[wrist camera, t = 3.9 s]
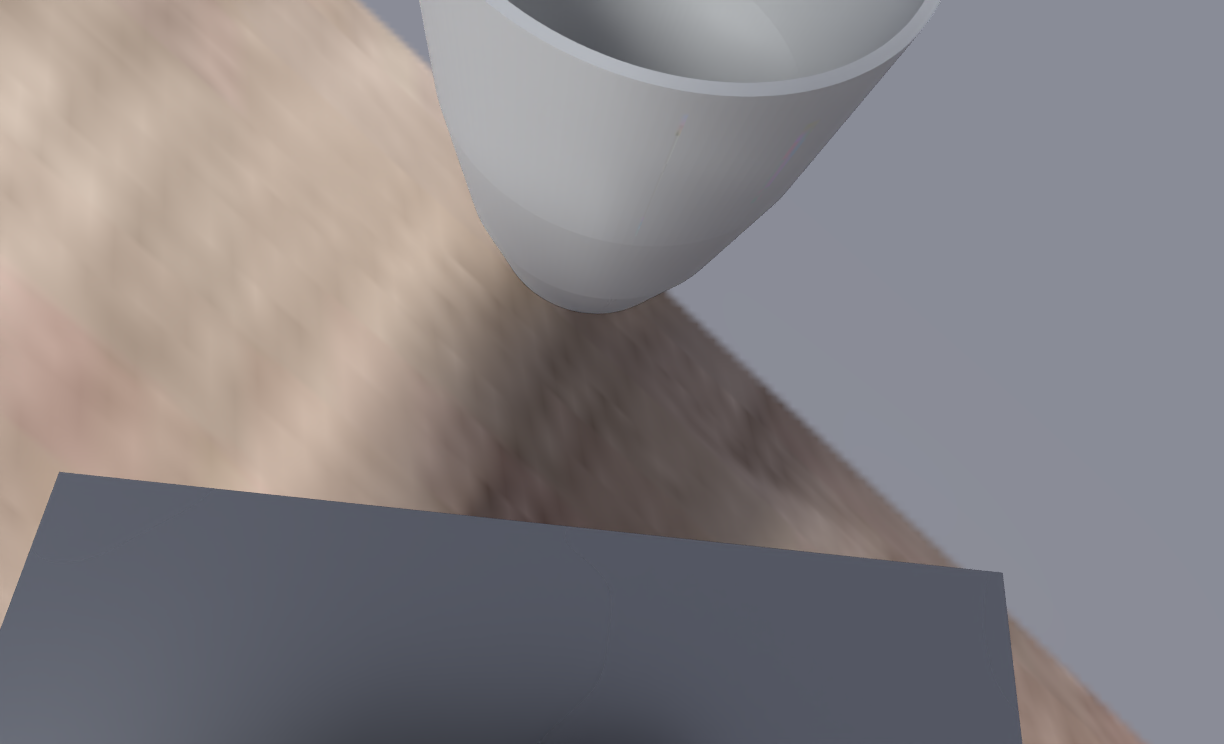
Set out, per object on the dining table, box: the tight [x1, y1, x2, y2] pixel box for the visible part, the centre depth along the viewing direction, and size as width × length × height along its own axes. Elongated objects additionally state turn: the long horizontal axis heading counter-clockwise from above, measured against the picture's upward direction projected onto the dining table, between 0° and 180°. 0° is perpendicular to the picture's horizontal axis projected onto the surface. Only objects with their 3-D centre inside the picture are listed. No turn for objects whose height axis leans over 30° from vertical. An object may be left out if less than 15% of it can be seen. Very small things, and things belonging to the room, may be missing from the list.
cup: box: [419, 0, 941, 314], centre depth 14 cm, size 8×8×10 cm
